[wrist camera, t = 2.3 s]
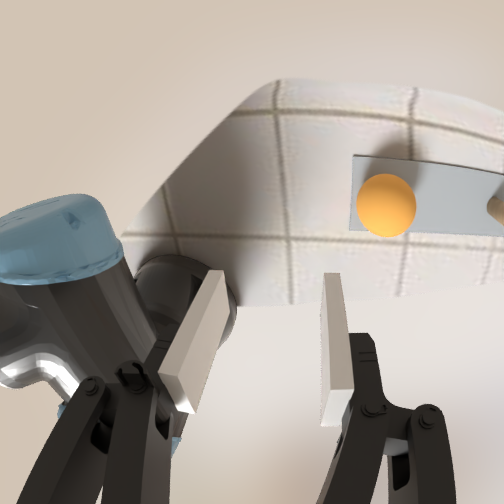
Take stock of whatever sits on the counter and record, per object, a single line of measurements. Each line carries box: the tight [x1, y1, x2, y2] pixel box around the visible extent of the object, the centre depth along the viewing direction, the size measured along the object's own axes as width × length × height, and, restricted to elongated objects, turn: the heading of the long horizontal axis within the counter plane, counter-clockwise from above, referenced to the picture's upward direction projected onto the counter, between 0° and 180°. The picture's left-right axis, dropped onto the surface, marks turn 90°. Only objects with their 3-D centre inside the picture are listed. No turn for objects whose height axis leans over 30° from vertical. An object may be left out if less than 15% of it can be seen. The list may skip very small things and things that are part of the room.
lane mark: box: [349, 156, 504, 237], centre depth 25 cm, size 28×8×1 cm, turn 94°
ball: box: [356, 174, 417, 237], centre depth 24 cm, size 6×6×6 cm
